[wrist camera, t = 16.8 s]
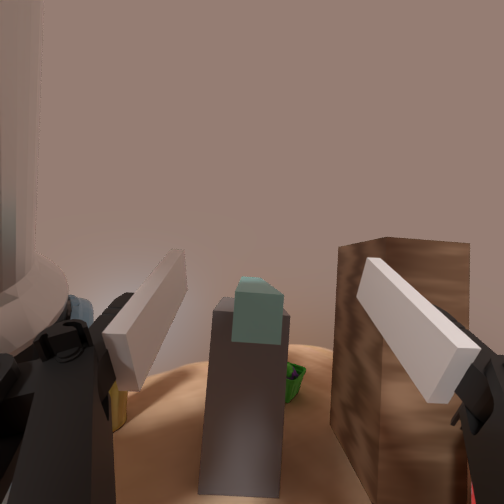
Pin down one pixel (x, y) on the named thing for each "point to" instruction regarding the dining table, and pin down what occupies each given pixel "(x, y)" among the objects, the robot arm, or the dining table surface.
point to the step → (243, 412)
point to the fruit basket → (293, 380)
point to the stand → (397, 380)
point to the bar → (257, 312)
